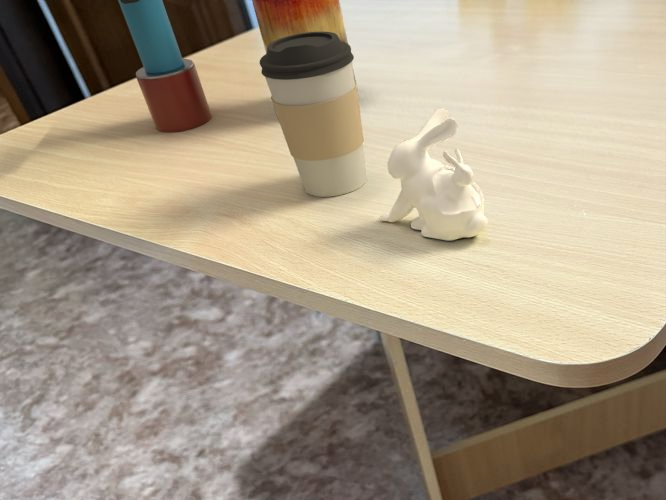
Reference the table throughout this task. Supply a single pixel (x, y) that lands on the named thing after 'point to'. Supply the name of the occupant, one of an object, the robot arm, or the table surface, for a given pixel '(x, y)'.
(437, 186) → the rabbit figurine
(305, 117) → the coffee cup
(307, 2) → the vase
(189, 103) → the tin
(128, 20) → the teal blue cylinder
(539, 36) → the table surface
